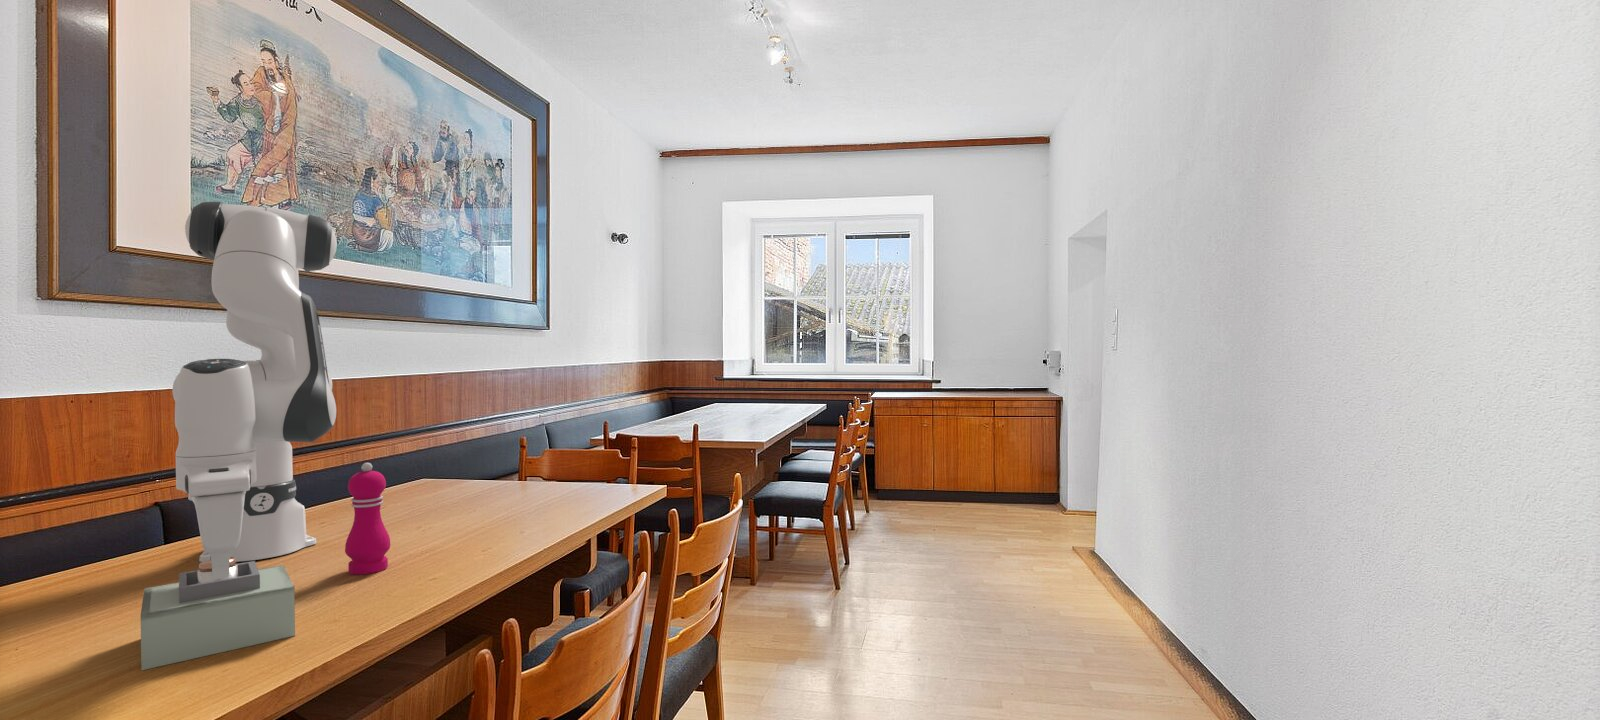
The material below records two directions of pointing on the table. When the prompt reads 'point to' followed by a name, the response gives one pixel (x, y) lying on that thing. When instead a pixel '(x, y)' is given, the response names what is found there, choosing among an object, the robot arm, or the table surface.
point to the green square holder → (215, 614)
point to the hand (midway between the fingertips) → (219, 569)
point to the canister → (206, 571)
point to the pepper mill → (367, 523)
